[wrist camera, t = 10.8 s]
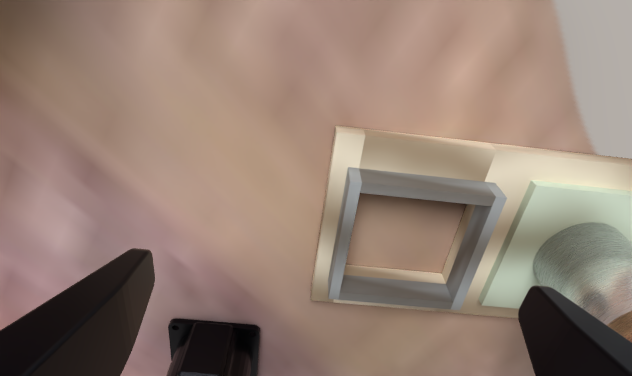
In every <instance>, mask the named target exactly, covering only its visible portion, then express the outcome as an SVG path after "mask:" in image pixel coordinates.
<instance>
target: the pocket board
mask: <svg viewBox="0 0 632 376" xmlns="http://www.w3.org/2000/svg"><path fill="white" fill-rule="evenodd" d="M360 193H367V194H376V195H386V196H396V197H405V198H415V199H425V200H434V201H444V202H453V203H463V204H467V205H466V208H465V211H464V213H463V216H462V219H461V221H460V224H459V227H458V230H457V232H456V235H455V238H454V241H453V243H452V246H451V249H450V252H449V254H448V257H447V260H446V263H445V265H444V268H443V271H442V273H432V272H421V271H411V270H400V269H389V268H378V267H368V266H357V265H346V259H347V254H348V249H349V244H350V239H351V234H352V229H353V225H354V220H355V215H356V210H357V205H358V200H359V195H360ZM591 222H595V223H604V224H608V225H610V226H613V227H615V228H616V229H618V230H619V231H620V232H621V233H622V234H623V235H624V236H625V237H626V238H627V239H629V240H630V241H631V242H632V159H628V158H618V157H611V156H601V155H593V154H584V153H575V152H566V151H558V150H549V149H540V148H531V147H522V146H513V145H504V144H496V143H487V142H478V141H469V140H460V139H451V138H443V137H434V136H425V135H416V134H407V133H398V132H389V131H381V130H372V129H363V128H354V127H345V126H336V127H335V134H334V140H333V147H332V154H331V160H330V167H329V173H328V180H327V187H326V193H325V200H324V206H323V213H322V220H321V226H320V233H319V240H318V246H317V253H316V259H315V266H314V273H313V279H312V286H311V300H312V301H323V302H334V303H346V304H357V305H369V306H380V307H392V308H403V309H415V310H426V311H437V312H449V313H460V314H472V315H483V316H495V317H506V318H518V311H519V308H520V306H521V304H522V302H523V300H524V298H525V296H526V294H527V292H528V290H529V289H530V288H531V287H532V286H535V285H538V286H542V285H541V284H540V282H539V281H538V279H537V278H536V276H535V274H534V271H533V262H534V258H535V256H536V253H537V252H538V250H539V249H540V247H541V246H542V245H543V244H544V243H545V242H546V241H547V240H548V239H549V238H550V237H552V236H553V235H554V234H556V233H558V232H559V231H561V230H563V229H566V228H568V227H571V226H574V225H577V224H582V223H591ZM518 319H519V318H518Z"/></svg>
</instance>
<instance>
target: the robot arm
mask: <svg viewBox="0 0 632 376" xmlns="http://www.w3.org/2000/svg"><path fill="white" fill-rule="evenodd" d="M154 282H155V274H154V265H153V257H152V253H151V251H150V250H146V249H136V248H134V249H130V250H128V251H127V252H125V253H124V254H122V255H120V256H119V257H117V258H116V259H114V260H112V261H111V262H109V263H108V264H106V265H104V266H103V267H101V268H100V269H98V270H96V271H95V272H93V273H92V274H90V275H88V276H87V277H85V278H84V279H82V280H80V281H79V282H77V283H76V284H74V285H72V286H71V287H69V288H68V289H66V290H64V291H63V292H61V293H60V294H58V295H56V296H55V297H53V298H52V299H50V300H48V301H47V302H45V303H44V304H42V305H40V306H39V307H37V308H36V309H34V310H32V311H31V312H29V313H28V314H26V315H24V316H23V317H21V318H20V319H18V320H16V321H15V322H13V323H12V324H10V325H8V326H7V327H5V328H4V329H2V330H0V376H120V375H121V373H122V371H123V369H124V367H125V364H126V362H127V360H128V358H129V356H130V353H131V351H132V349H133V346H134V343H135V340H136V338H137V335H138V332H139V329H140V326H141V323H142V320H143V317H144V314H145V311H146V308H147V305H148V302H149V299H150V296H151V293H152V290H153V287H154ZM518 318H519V322H520V326H521V329H522V332H523V336H524V339H525V342H526V346H527V349H528V353H529V356H530V359H531V363H532V366H533V369H534V372H535V375H536V376H632V342H630V341H629V340H627V339H626V338H624V337H623V336H621V335H620V334H619V333H617V332H616V331H614V330H613V329H611V328H610V327H608V326H607V325H606V324H604V323H603V322H601V321H600V320H598V319H597V318H595V317H594V316H592V315H591V314H590V313H588V312H587V311H585V310H584V309H582V308H581V307H579V306H578V305H577V304H575V303H574V302H572V301H571V300H569V299H568V298H566V297H565V296H564V295H562V294H561V293H559V292H558V291H556V290H555V289H553V288H551V287H548V286H538V285H535V286H532V287H531V288H530V289H529V290H528V292H527V294H526V296H525V298H524V300H523V302H522V304H521V306H520V308H519V311H518ZM168 329H169V339H170V349H171V359H172V362H171V365H170V368H169V370H168V373H167V376H257V370H258V356H259V342H260V328H259V327H258V326H256V325H248V324H236V323H224V322H212V321H200V320H188V319H172V320H171V321H170V324H169V327H168Z"/></svg>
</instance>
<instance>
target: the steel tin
mask: <svg viewBox="0 0 632 376" xmlns="http://www.w3.org/2000/svg"><path fill="white" fill-rule="evenodd" d="M533 271H534V274H535V276H536V278H537V279H538V281H539V282H540V284H541V285H542V286H548V287H551V288H553V289H555V290H556V291H558V292H559V293H561V294H562V295H564V296H565V297H566V298H568V299H569V300H571V301H572V302H574V303H575V304H577V305H578V306H579V307H581V308H582V309H584V310H585V311H587V312H588V313H590V314H591V315H592V316H594V317H595V318H597V319H598V320H600V321H601V322H603V323H604V324H606V325H607V326H608V327H610V328H611V329H613V330H614V331H616V332H617V333H619V334H620V335H621V336H623V337H624V338H626V339H627V340H629V341H630V342H632V242H631V241H630V240H629V239H627V238H626V237H625V236H624V235H623V234H622V233H621V232H620V231H619V230H618V229H616V228H615V227H613V226H610V225H608V224H604V223H595V222H591V223H582V224H577V225H574V226H571V227H568V228H566V229H563V230H561V231H559V232H558V233H556V234H554V235H553V236H552V237H550V238H549V239H548V240H547V241H546V242H545V243H544V244H543V245H542V246H541V247H540V249H539V250H538V252H537V253H536V256H535V258H534V262H533Z"/></svg>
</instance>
